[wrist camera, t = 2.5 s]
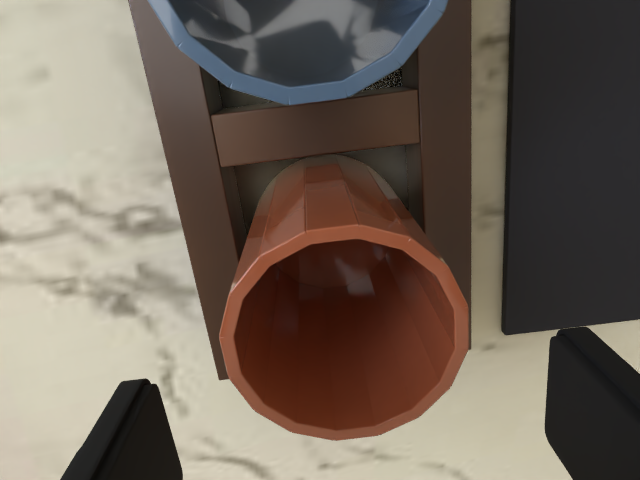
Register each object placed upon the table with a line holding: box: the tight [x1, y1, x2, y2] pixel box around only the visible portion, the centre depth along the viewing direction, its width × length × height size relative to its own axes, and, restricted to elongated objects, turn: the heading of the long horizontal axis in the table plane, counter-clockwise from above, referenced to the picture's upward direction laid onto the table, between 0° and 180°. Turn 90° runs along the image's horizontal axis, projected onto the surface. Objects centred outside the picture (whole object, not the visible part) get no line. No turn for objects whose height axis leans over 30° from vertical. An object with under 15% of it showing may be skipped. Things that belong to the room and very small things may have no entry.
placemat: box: [502, 0, 640, 335], centre depth 21 cm, size 20×10×1 cm, turn 7°
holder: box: [128, 0, 471, 380], centre depth 19 cm, size 12×22×3 cm, turn 7°
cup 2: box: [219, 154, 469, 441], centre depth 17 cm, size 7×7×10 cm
